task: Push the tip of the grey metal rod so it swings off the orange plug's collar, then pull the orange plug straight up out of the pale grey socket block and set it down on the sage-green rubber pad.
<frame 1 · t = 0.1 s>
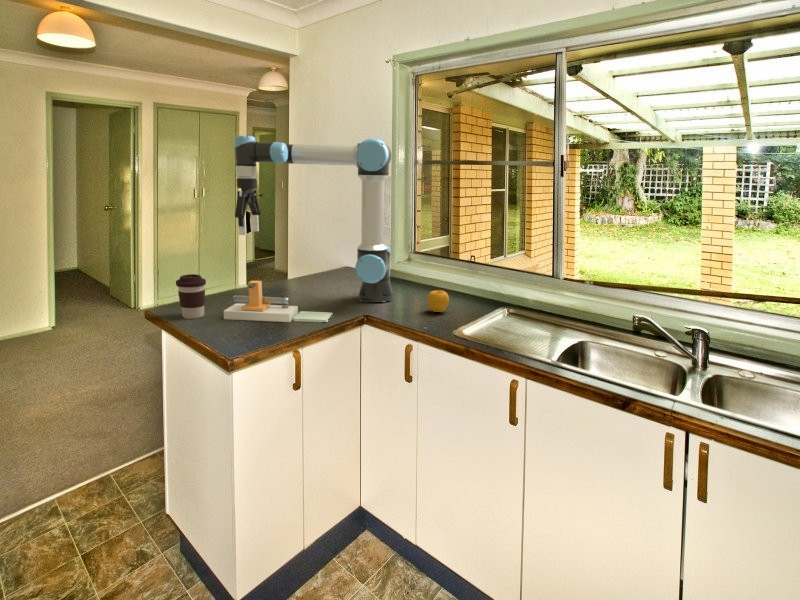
hand: (249, 233, 199), 28 cm above the worktop, tool pointing down, fingers open, 13 cm apart
coffee cup: (193, 316, 182), on the worktop
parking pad: (313, 318, 184), on the worktop
socket block: (261, 316, 185), on the worktop
grey metal rod: (261, 299, 186), point 6 cm above the worktop, hinge at 0.0°
plug: (256, 316, 185), resting in socket block
apple: (437, 312, 197), on the worktop
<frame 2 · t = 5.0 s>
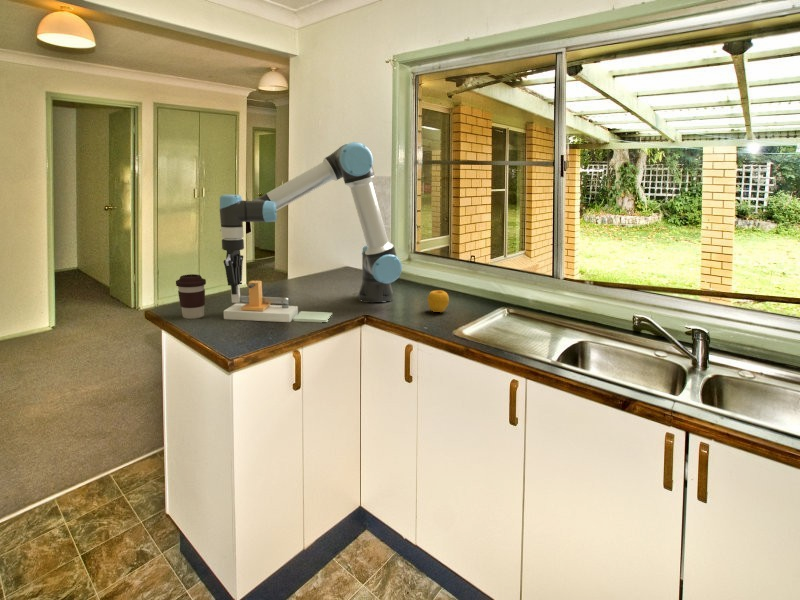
hand: (236, 302, 186), 5 cm above the worktop, tool pointing down, fingers closed
grey metal rod: (261, 299, 186), point 6 cm above the worktop, hinge at -0.3°, touching gripper
everything else where it was.
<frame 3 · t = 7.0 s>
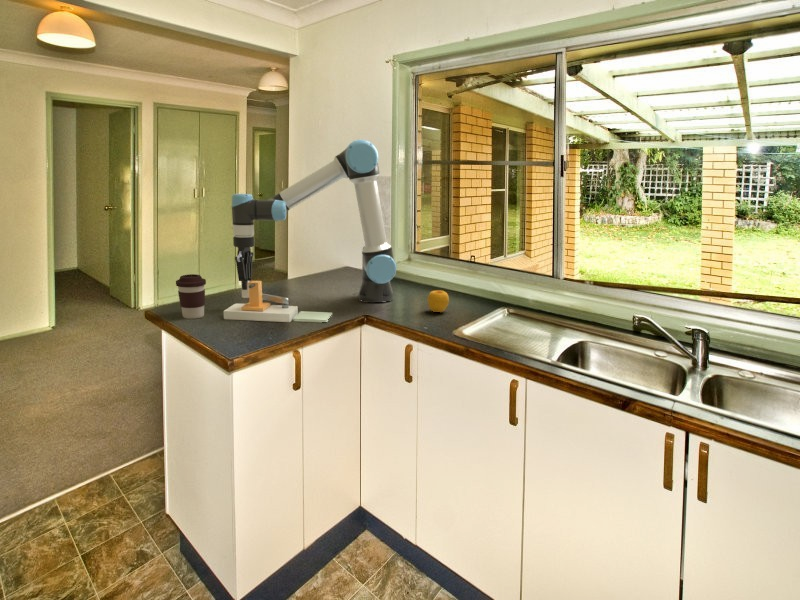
hand: (246, 297, 193), 5 cm above the worktop, tool pointing down, fingers closed
grey metal rod: (266, 297, 190), point 6 cm above the worktop, hinge at -25.7°, touching gripper
everything else where it was.
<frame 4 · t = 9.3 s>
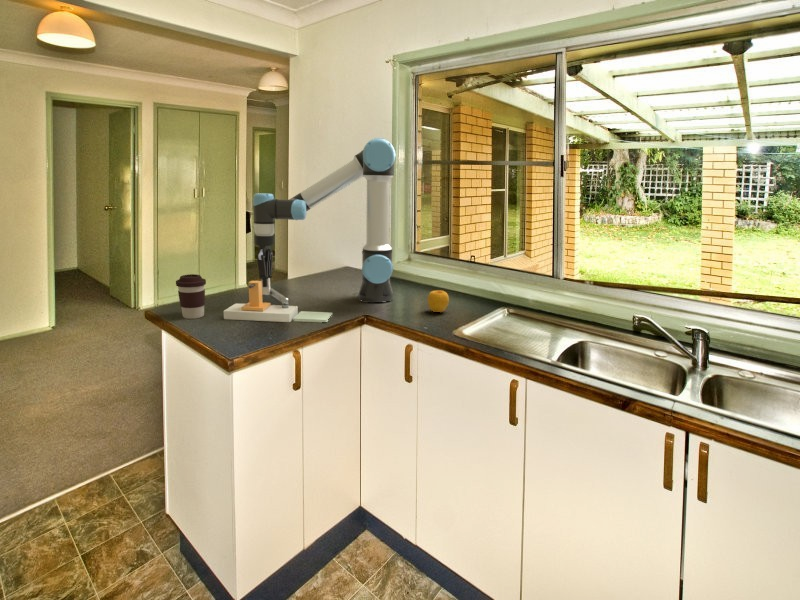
hand: (266, 294, 198), 5 cm above the worktop, tool pointing down, fingers closed
grey metal rod: (277, 295, 193), point 6 cm above the worktop, hinge at -54.4°, touching gripper
everything else where it was.
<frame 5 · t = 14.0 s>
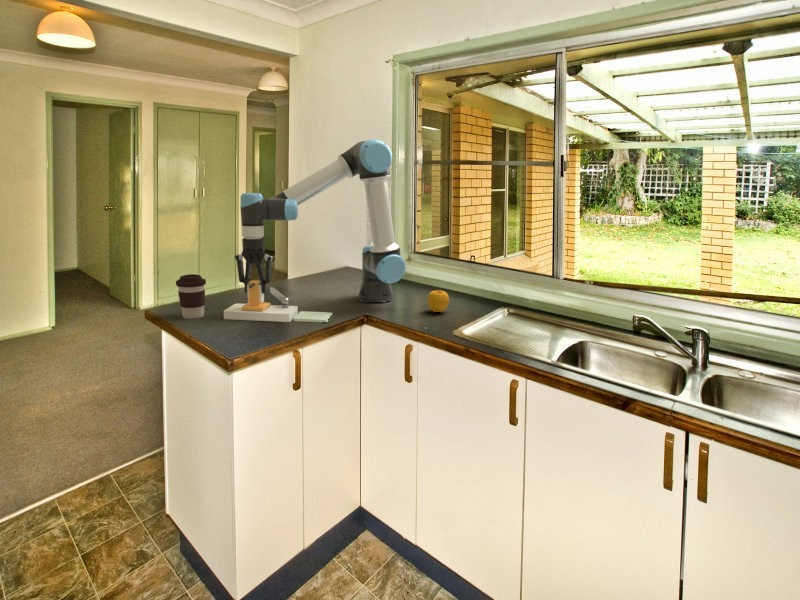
hand: (255, 301, 183), 6 cm above the worktop, tool pointing down, fingers closed on plug, 4 cm apart
grey metal rod: (278, 295, 193), point 6 cm above the worktop, hinge at -57.4°
plug: (256, 316, 185), resting in socket block, touching gripper
everything else where it was.
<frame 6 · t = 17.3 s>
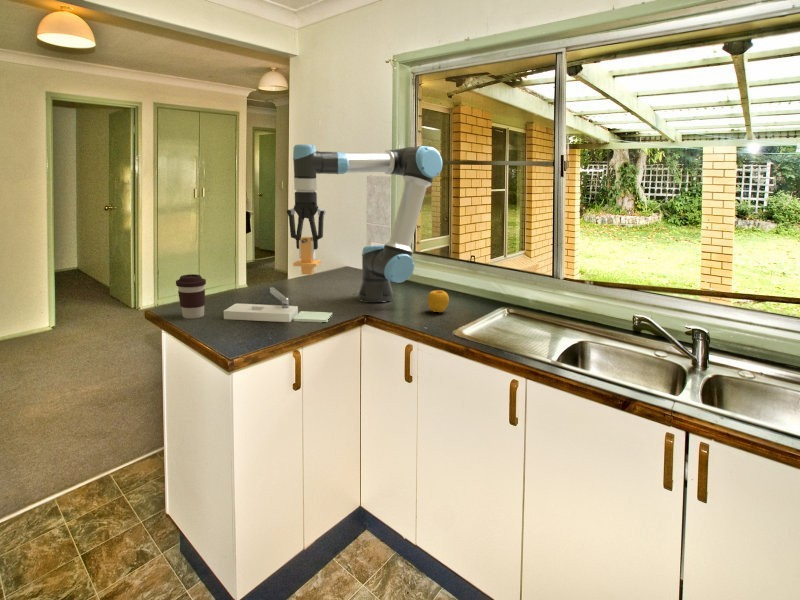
hand: (307, 258, 179), 22 cm above the worktop, tool pointing down, fingers closed on plug, 4 cm apart
plug: (307, 273, 181), point 17 cm above the worktop, touching gripper
everything else where it was.
when the fingers open (8 cm above the worktop, at t = 20.6 s): plug stays where it is, resting on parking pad.
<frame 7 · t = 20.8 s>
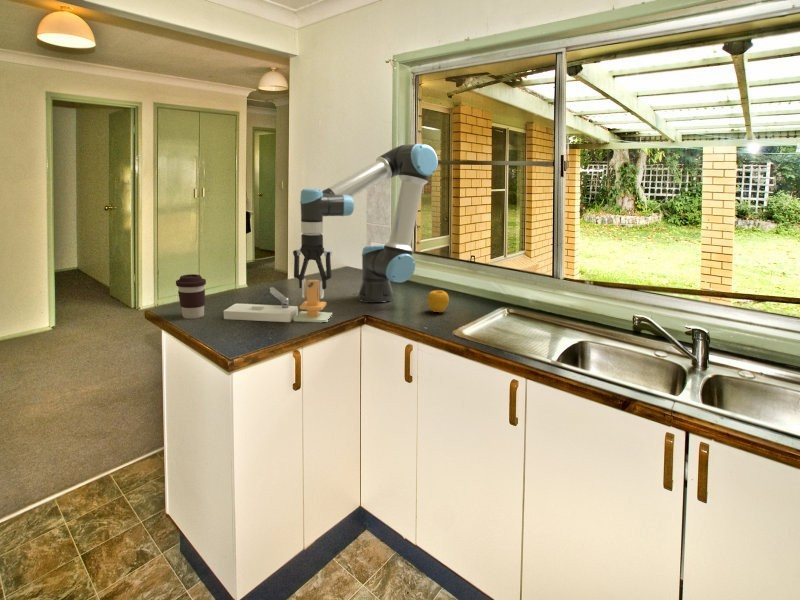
hand: (313, 297, 182), 8 cm above the worktop, tool pointing down, fingers open, 6 cm apart
plug: (313, 315, 184), point 1 cm above the worktop, touching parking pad
everything else where it was.
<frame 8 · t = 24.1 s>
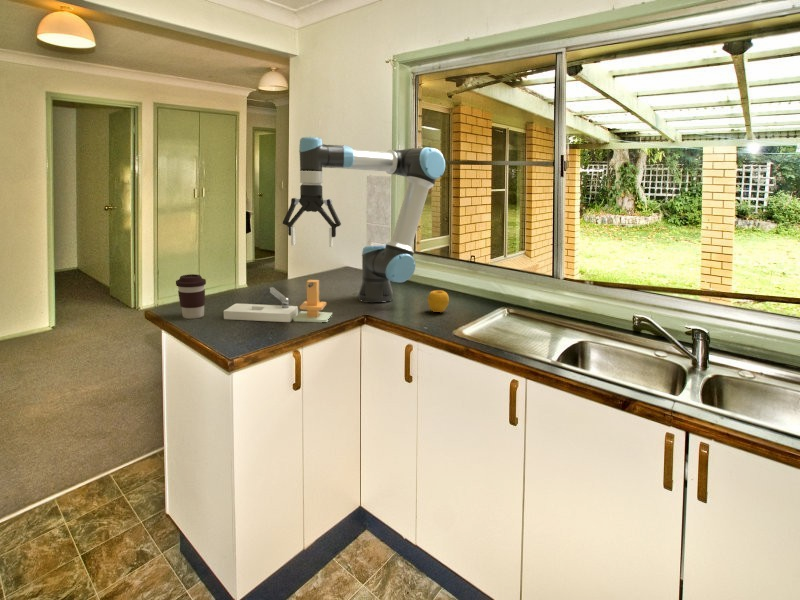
hand: (312, 245, 178), 27 cm above the worktop, tool pointing down, fingers open, 13 cm apart
nothing on the worktop moved.
at the end: grey metal rod at -57° (first picture: +0°); plug inside the target area on the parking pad (0.0 cm from its centre), point 1.0 cm above the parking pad's base; the gripper is holding nothing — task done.
